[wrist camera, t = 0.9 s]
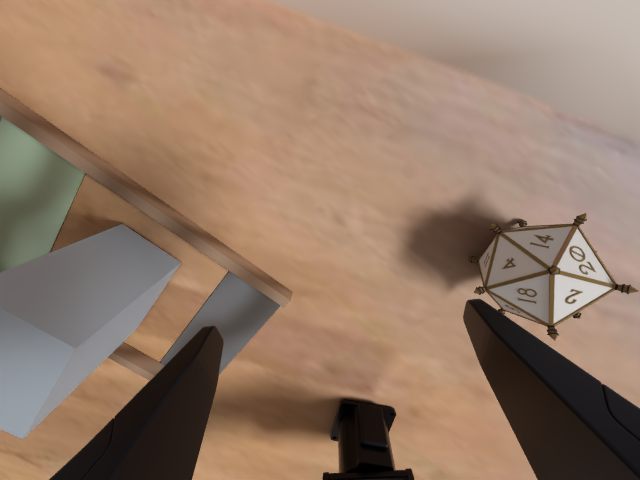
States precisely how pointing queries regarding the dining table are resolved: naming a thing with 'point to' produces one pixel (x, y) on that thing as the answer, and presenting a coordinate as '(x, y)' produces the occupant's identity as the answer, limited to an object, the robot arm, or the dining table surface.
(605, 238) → the dining table surface
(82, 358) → the slate block
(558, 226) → the game die
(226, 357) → the channel
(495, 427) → the dining table surface
